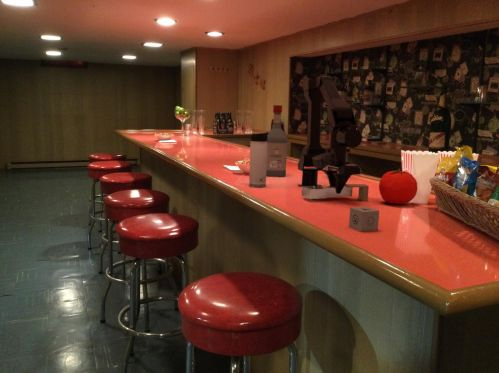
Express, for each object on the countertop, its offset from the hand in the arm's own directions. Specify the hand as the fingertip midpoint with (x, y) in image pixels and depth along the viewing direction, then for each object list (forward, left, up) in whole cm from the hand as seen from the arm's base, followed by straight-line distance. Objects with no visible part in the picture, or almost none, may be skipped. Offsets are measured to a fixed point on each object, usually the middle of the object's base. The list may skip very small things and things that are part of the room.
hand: (335, 192), depth 151 cm
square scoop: (+2, -1, -1) cm, 3 cm away
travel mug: (-1, -32, -2) cm, 32 cm away
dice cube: (+30, +22, -2) cm, 38 cm away
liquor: (-29, -43, -2) cm, 52 cm away
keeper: (-3, +6, -2) cm, 7 cm away
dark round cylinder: (+7, -4, -2) cm, 8 cm away
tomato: (-7, +18, -2) cm, 19 cm away
